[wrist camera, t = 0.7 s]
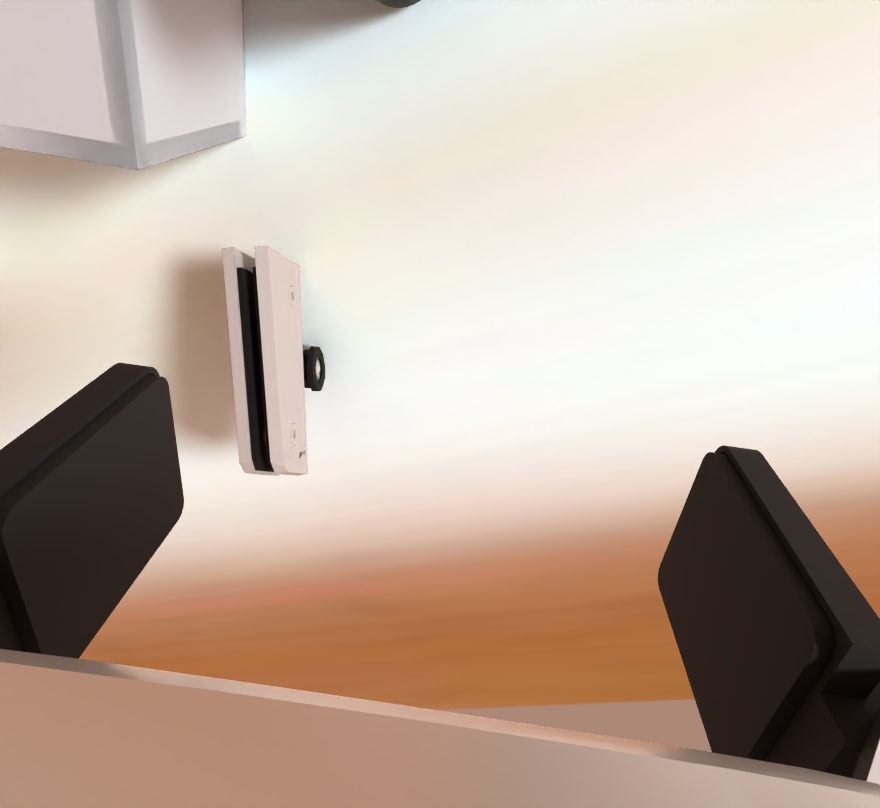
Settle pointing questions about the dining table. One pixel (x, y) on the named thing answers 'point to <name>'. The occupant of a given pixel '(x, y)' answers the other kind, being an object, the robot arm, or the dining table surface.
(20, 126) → the cabinet
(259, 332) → the grey plank with wheel
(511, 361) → the dining table surface
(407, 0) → the coffee jar
